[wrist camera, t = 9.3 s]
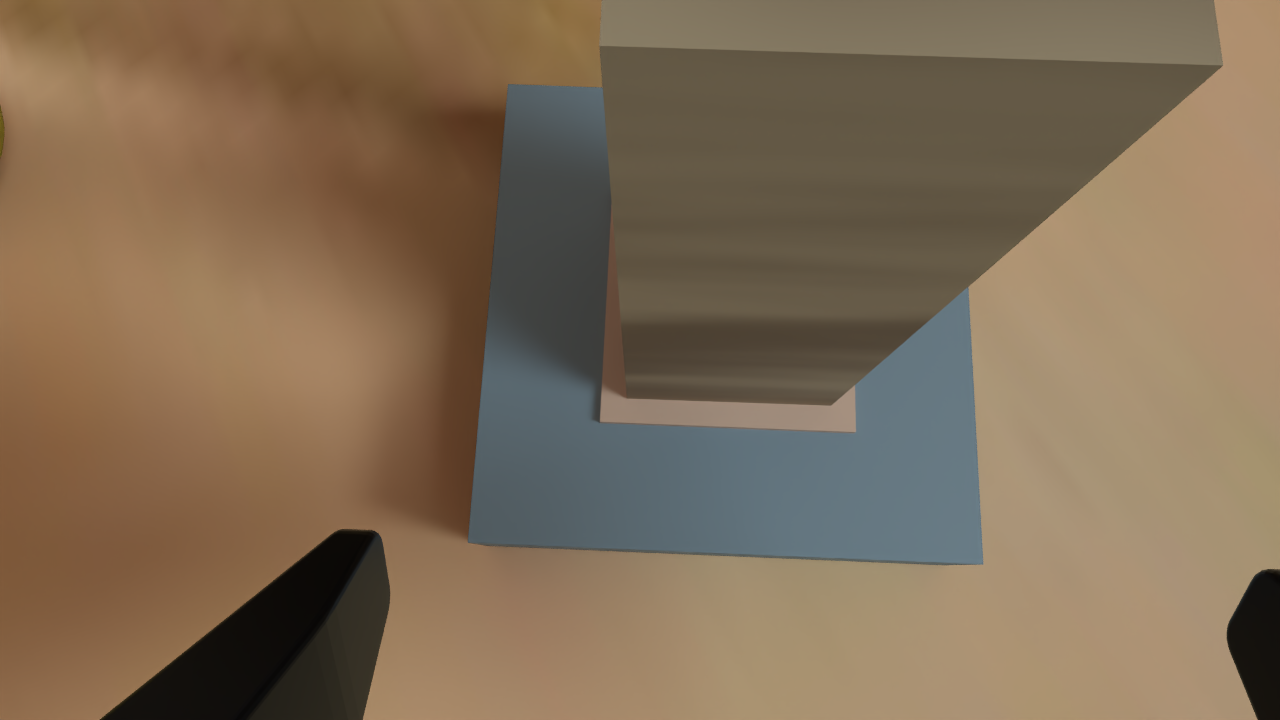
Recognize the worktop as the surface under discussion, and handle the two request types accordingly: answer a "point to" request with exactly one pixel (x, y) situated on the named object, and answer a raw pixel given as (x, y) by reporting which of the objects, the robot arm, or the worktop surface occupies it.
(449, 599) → the worktop surface
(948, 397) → the plate
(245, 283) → the worktop surface
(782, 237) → the pillar
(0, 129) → the lemon
